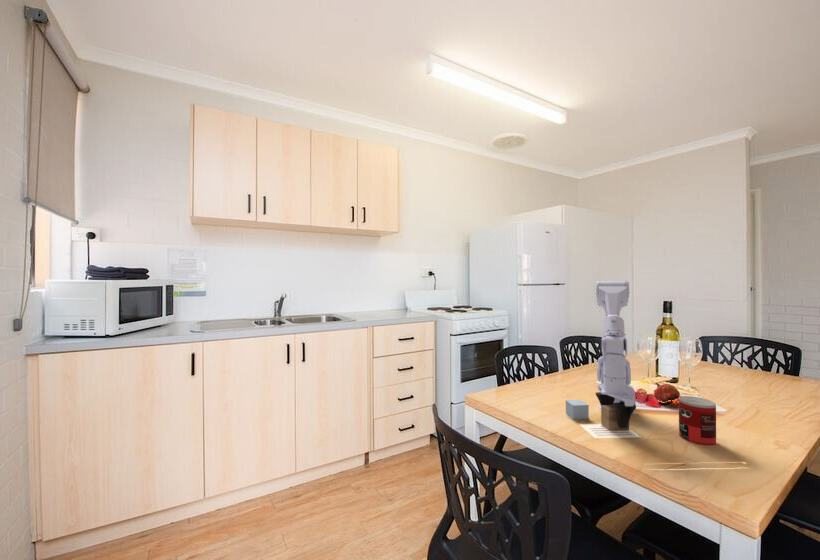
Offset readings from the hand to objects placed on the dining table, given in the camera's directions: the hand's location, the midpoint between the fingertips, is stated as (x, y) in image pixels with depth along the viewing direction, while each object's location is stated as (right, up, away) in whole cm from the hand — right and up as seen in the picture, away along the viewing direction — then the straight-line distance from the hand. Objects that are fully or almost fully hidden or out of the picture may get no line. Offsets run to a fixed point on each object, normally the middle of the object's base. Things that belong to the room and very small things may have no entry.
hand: (615, 421), depth 105 cm
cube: (-7, -2, +9) cm, 12 cm away
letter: (-3, -2, -2) cm, 4 cm away
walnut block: (0, -2, 0) cm, 2 cm away
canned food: (+18, -2, -8) cm, 20 cm away
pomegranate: (+30, -2, +19) cm, 36 cm away
